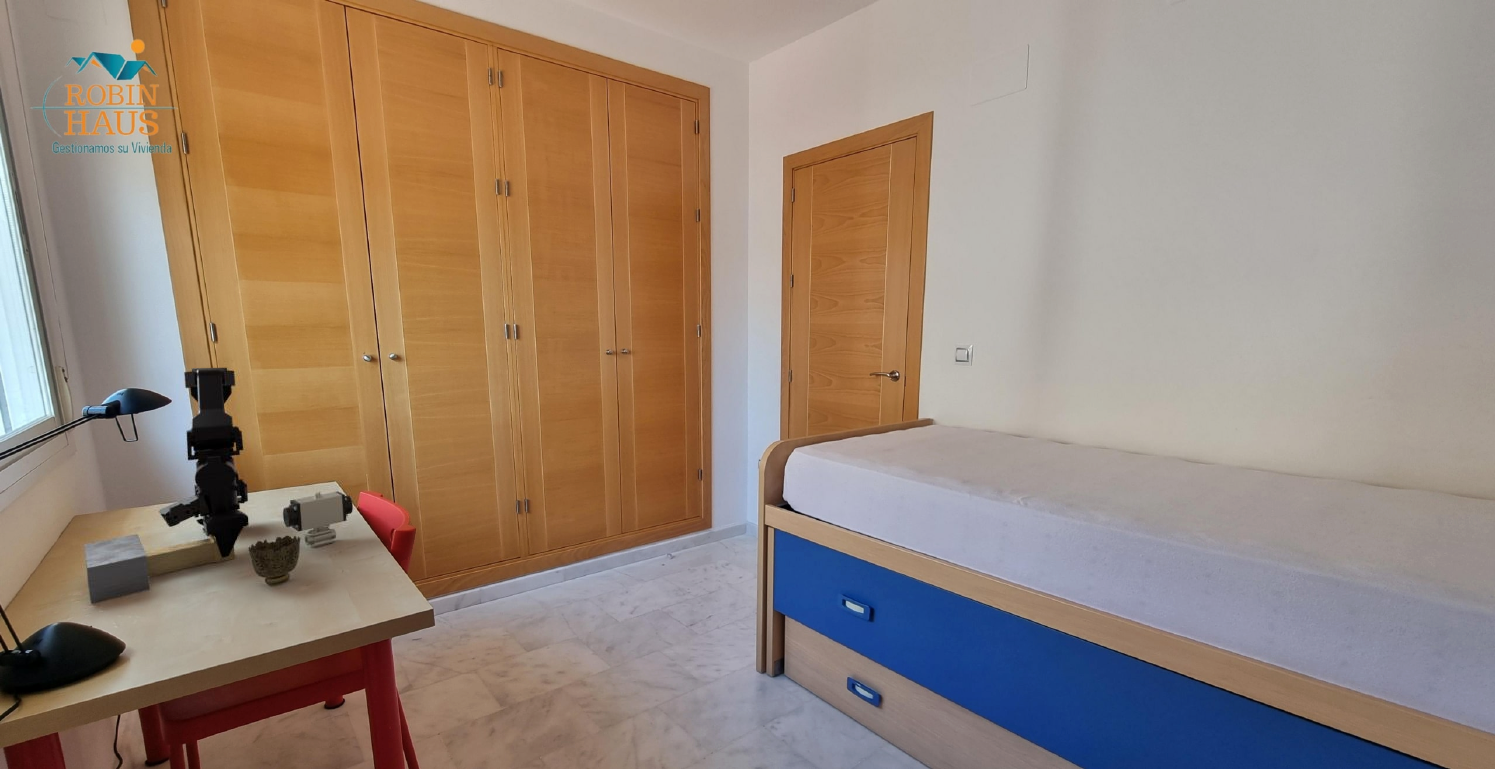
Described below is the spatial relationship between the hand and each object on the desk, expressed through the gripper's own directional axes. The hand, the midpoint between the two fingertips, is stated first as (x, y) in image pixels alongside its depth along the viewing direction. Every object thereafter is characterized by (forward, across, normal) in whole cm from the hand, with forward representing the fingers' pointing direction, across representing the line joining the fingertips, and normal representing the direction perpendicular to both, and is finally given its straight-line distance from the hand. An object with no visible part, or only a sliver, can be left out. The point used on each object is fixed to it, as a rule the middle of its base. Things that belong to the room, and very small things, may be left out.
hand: (222, 553), depth 115 cm
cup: (+1, +24, +4) cm, 24 cm away
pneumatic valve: (+1, +6, +15) cm, 16 cm away
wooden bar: (+1, 0, -6) cm, 6 cm away
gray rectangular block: (+1, 0, -15) cm, 15 cm away
